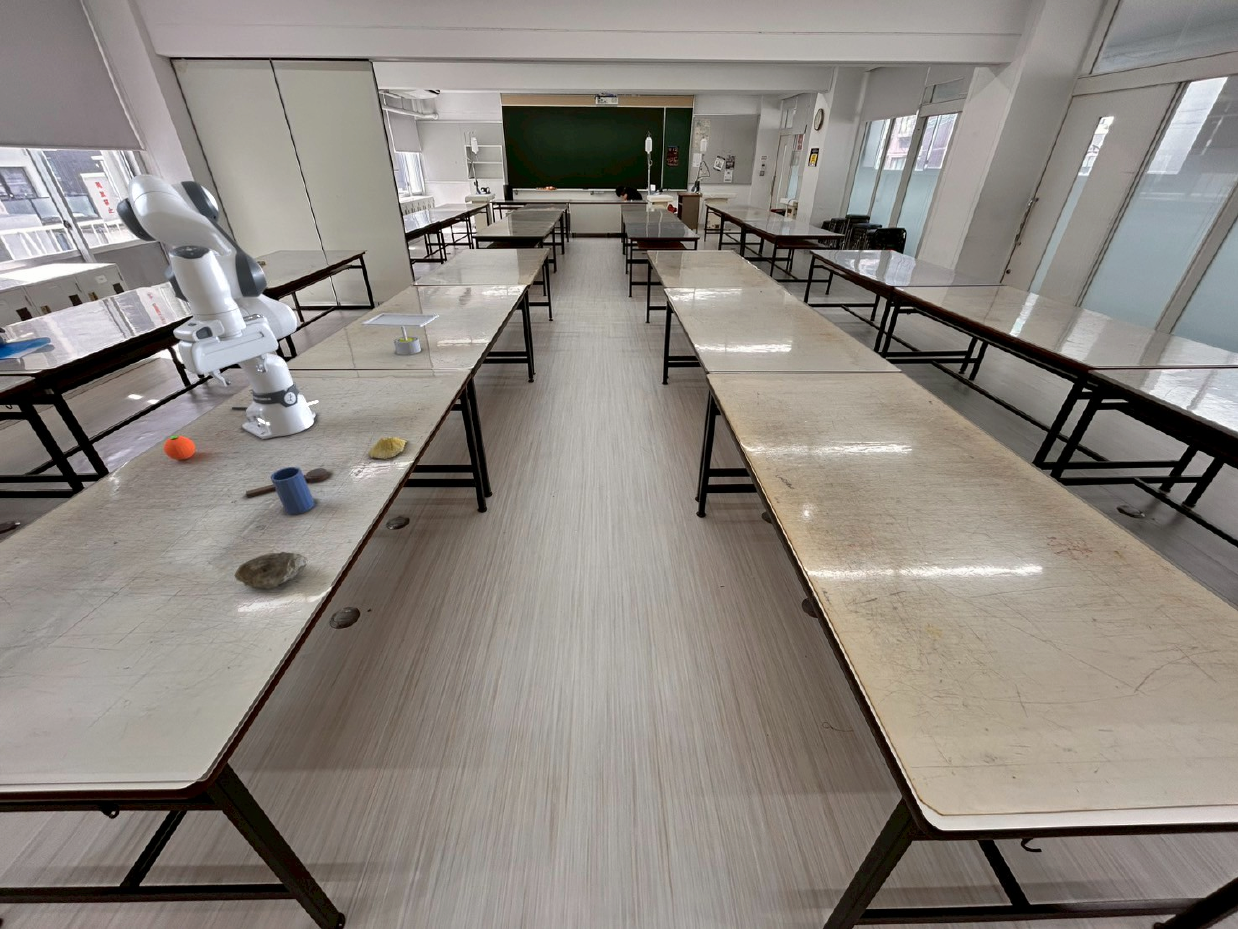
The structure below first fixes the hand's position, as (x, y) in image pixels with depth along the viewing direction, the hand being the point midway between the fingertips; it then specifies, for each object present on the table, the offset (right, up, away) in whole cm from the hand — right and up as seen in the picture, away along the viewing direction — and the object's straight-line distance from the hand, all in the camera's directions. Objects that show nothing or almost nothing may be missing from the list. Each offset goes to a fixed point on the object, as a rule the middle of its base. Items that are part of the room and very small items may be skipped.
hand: (245, 378), depth 122 cm
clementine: (-37, -19, +25) cm, 49 cm away
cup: (+11, -32, +3) cm, 34 cm away
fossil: (+23, -17, +27) cm, 40 cm away
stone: (+21, -45, -18) cm, 53 cm away
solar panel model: (-5, +31, +106) cm, 110 cm away
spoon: (+3, -27, +12) cm, 29 cm away
